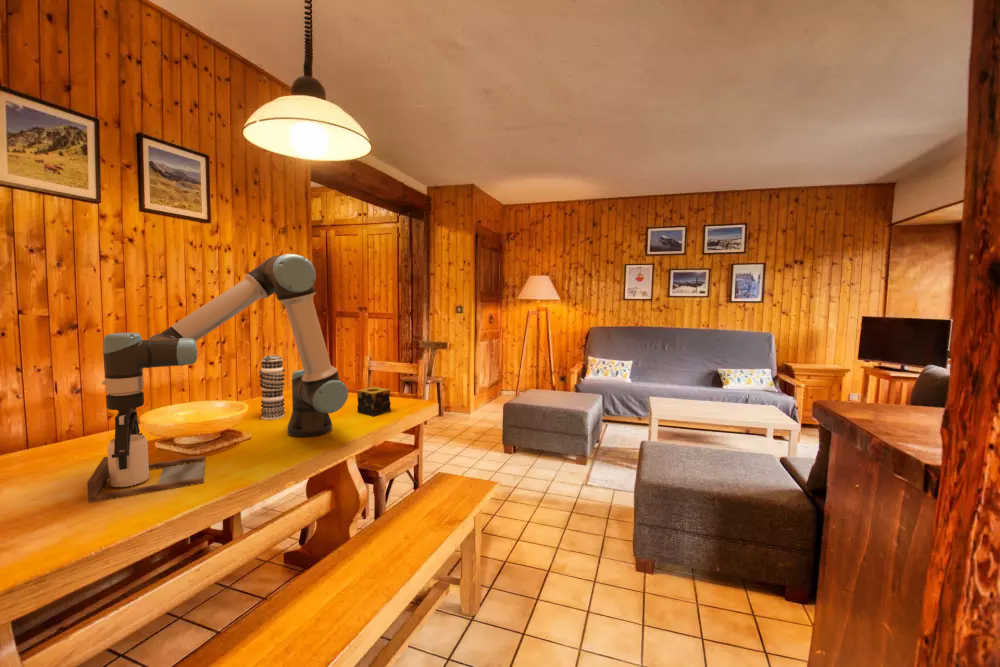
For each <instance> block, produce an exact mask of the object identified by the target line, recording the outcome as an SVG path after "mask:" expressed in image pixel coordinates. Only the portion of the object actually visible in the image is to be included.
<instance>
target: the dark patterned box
mask: <svg viewBox="0 0 1000 667" xmlns="http://www.w3.org/2000/svg"><path fill="white" fill-rule="evenodd" d="M356 394H357V395H356V396H357V407H356V408H357V413H358V414H362V415H365V416H370V417H376V416H375V415H377V416H380V415H382V413H383V414H385V413H384V412H387V413H389V412H388V411H390V412H391V411H392V410H391V400H390V398H391V397H390V396H391V389H390V388H386V387H385V388H384V387H379V386H370V387H367V388H362V389H358V390H356ZM379 414H380V415H379Z"/></svg>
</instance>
